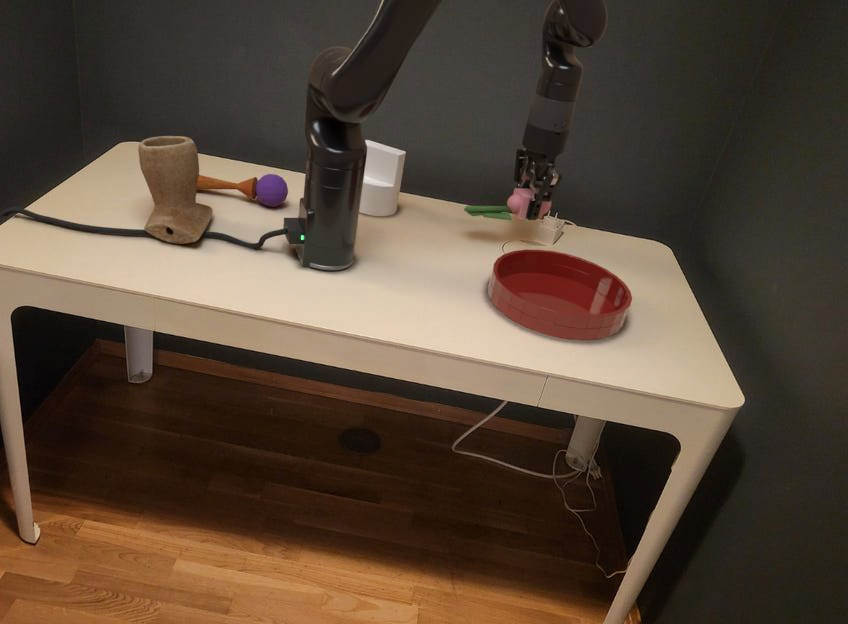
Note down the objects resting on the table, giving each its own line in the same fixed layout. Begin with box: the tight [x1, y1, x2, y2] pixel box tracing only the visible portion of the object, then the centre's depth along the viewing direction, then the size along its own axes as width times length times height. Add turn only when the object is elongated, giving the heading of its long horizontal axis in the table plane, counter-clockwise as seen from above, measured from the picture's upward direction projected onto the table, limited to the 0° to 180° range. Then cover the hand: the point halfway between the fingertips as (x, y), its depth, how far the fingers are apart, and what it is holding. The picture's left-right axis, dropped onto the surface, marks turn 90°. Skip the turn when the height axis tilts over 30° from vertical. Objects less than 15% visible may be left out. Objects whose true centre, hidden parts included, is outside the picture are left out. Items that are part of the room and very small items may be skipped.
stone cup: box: [137, 135, 214, 245], centre depth 124 cm, size 15×12×15 cm
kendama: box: [196, 173, 289, 207], centre depth 140 cm, size 6×6×20 cm
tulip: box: [463, 187, 553, 221], centre depth 136 cm, size 17×6×4 cm, turn 106°
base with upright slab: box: [359, 139, 407, 217], centre depth 144 cm, size 9×9×12 cm
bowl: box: [487, 249, 633, 341], centre depth 121 cm, size 22×22×4 cm
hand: (525, 213), depth 139 cm, fingers closed on tulip, 4 cm apart
